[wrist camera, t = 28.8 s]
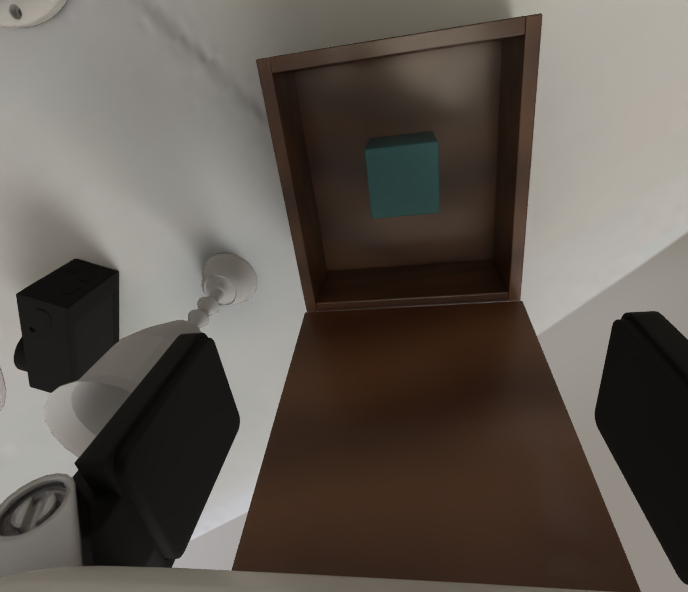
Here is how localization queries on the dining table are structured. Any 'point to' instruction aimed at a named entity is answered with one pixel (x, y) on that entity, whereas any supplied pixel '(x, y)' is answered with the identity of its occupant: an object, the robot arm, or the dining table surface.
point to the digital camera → (67, 323)
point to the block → (403, 175)
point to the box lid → (429, 458)
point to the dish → (2, 391)
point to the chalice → (139, 358)
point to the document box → (397, 119)
